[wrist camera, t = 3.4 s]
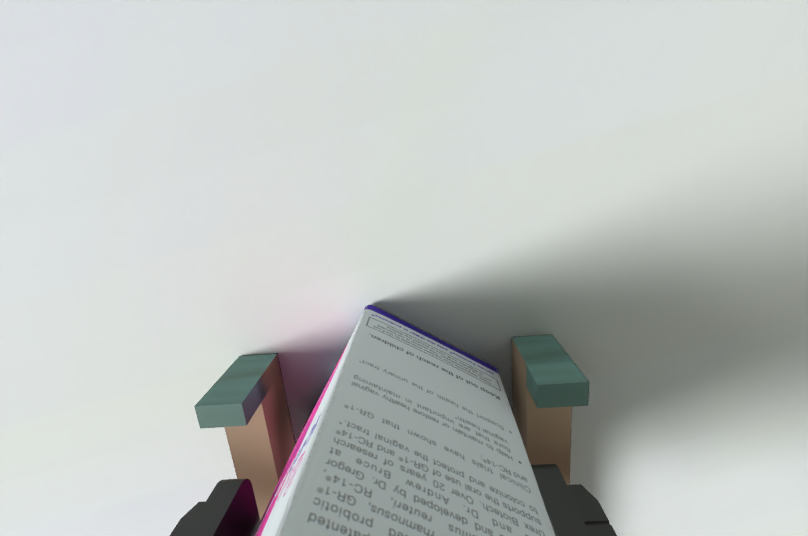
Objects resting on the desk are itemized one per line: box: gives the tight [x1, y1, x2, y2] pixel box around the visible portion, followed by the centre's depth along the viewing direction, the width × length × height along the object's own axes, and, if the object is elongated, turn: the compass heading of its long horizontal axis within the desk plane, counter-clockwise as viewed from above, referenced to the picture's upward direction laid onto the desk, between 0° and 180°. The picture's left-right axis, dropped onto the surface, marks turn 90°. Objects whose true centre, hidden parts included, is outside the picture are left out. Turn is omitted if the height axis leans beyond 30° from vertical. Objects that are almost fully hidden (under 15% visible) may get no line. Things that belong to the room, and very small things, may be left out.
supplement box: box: [254, 305, 555, 536], centre depth 10 cm, size 6×6×12 cm
